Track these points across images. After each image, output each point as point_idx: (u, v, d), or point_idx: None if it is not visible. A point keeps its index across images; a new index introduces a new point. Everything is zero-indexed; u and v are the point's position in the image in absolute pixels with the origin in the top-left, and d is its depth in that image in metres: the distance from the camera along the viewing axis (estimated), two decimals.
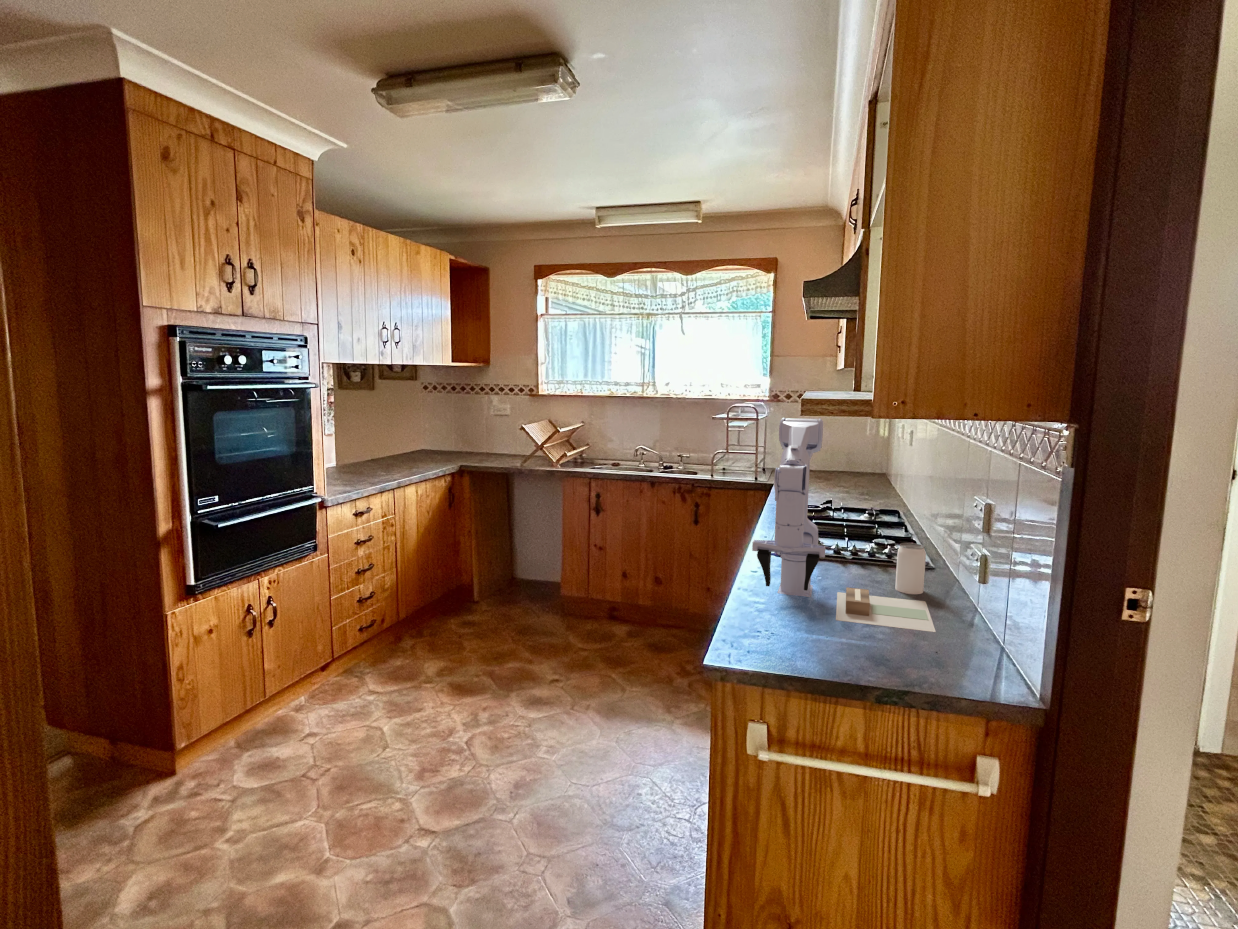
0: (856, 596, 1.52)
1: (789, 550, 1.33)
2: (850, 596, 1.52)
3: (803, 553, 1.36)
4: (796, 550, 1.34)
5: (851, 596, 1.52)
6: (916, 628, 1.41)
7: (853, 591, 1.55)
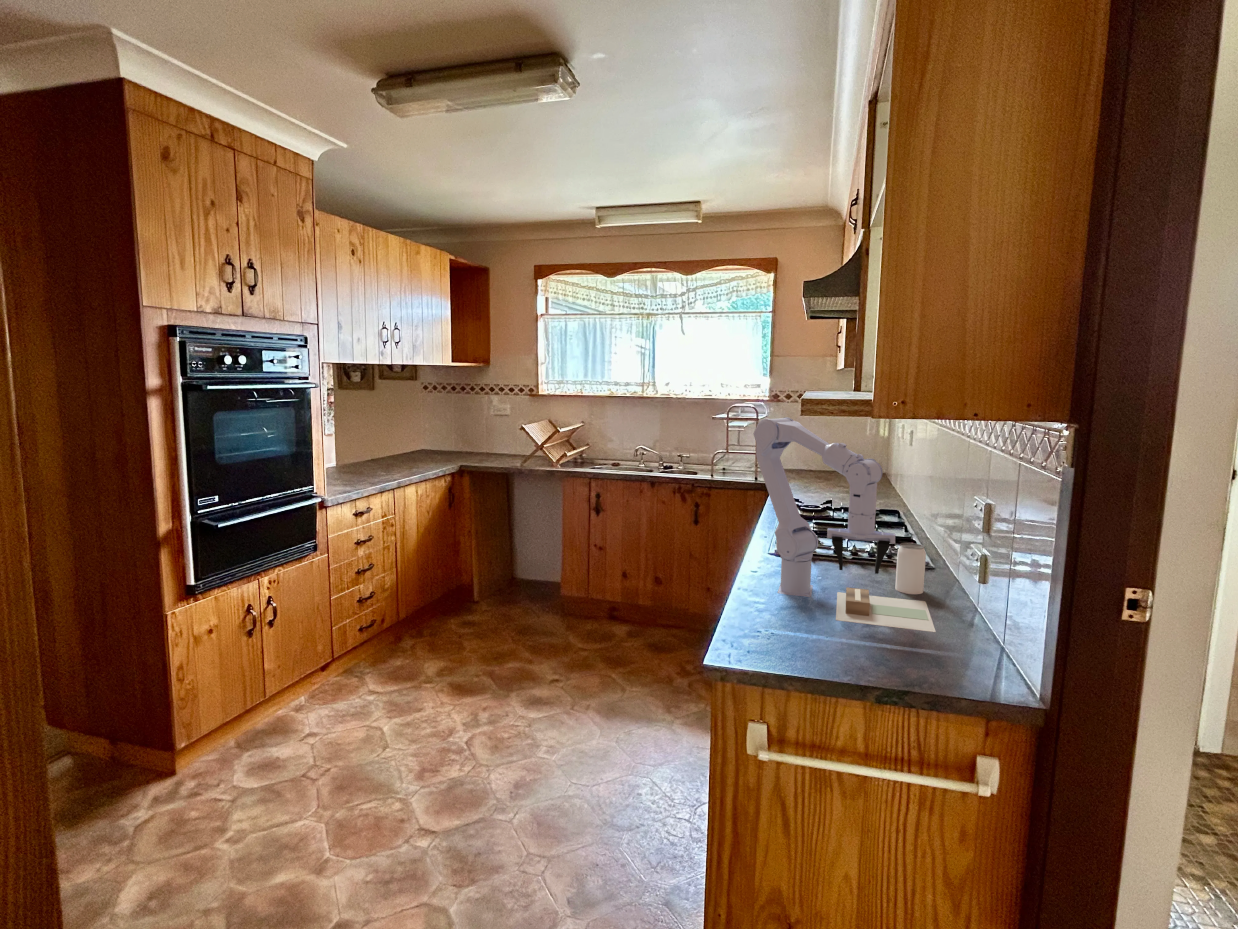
0: (856, 596, 1.52)
1: (863, 537, 1.47)
2: (850, 596, 1.52)
3: (874, 540, 1.50)
4: (869, 537, 1.48)
5: (851, 596, 1.52)
6: (916, 628, 1.41)
7: (853, 591, 1.55)
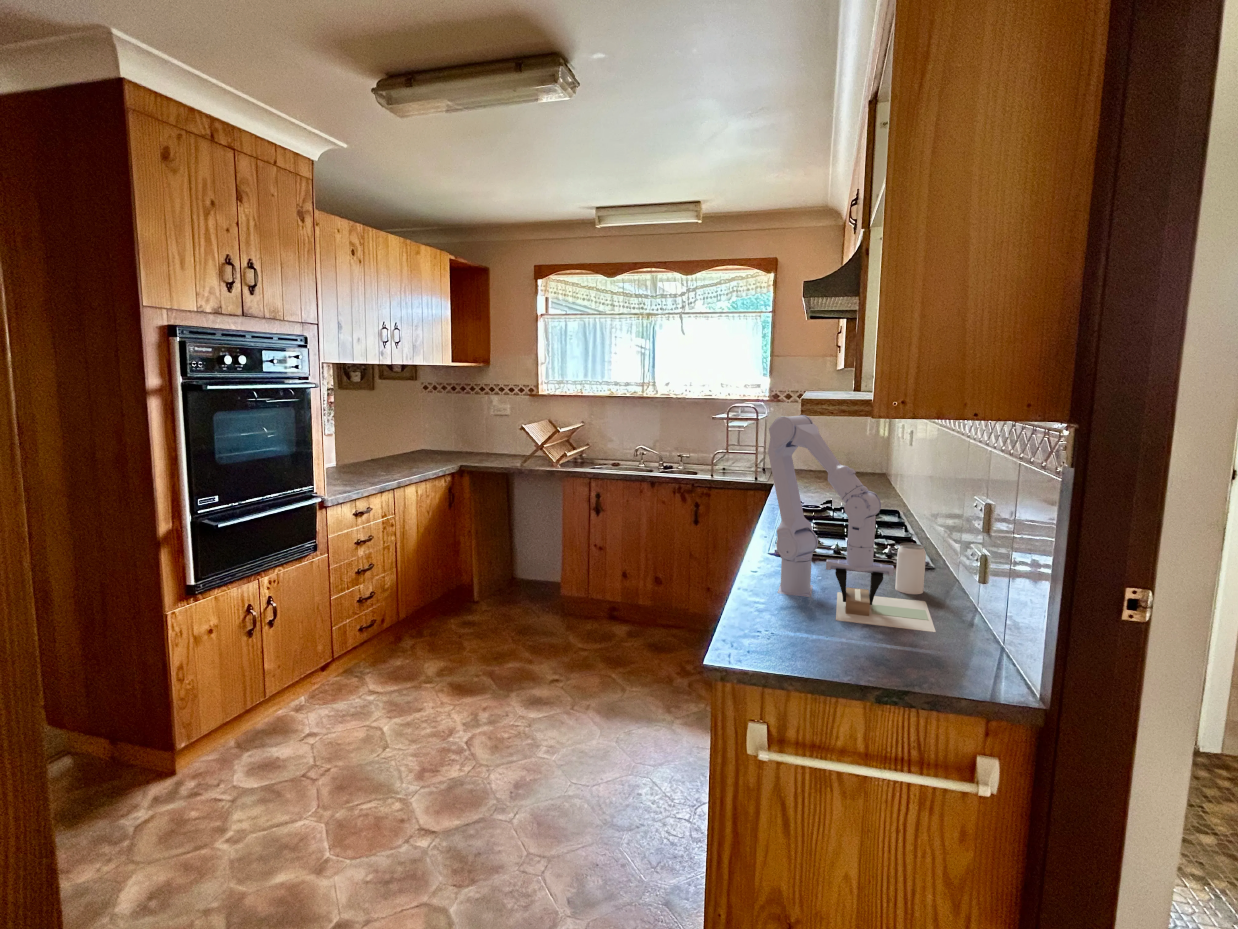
0: (856, 596, 1.52)
1: (862, 569, 1.48)
2: (850, 596, 1.52)
3: (873, 572, 1.51)
4: (868, 569, 1.49)
5: (851, 596, 1.52)
6: (916, 628, 1.41)
7: (853, 591, 1.55)
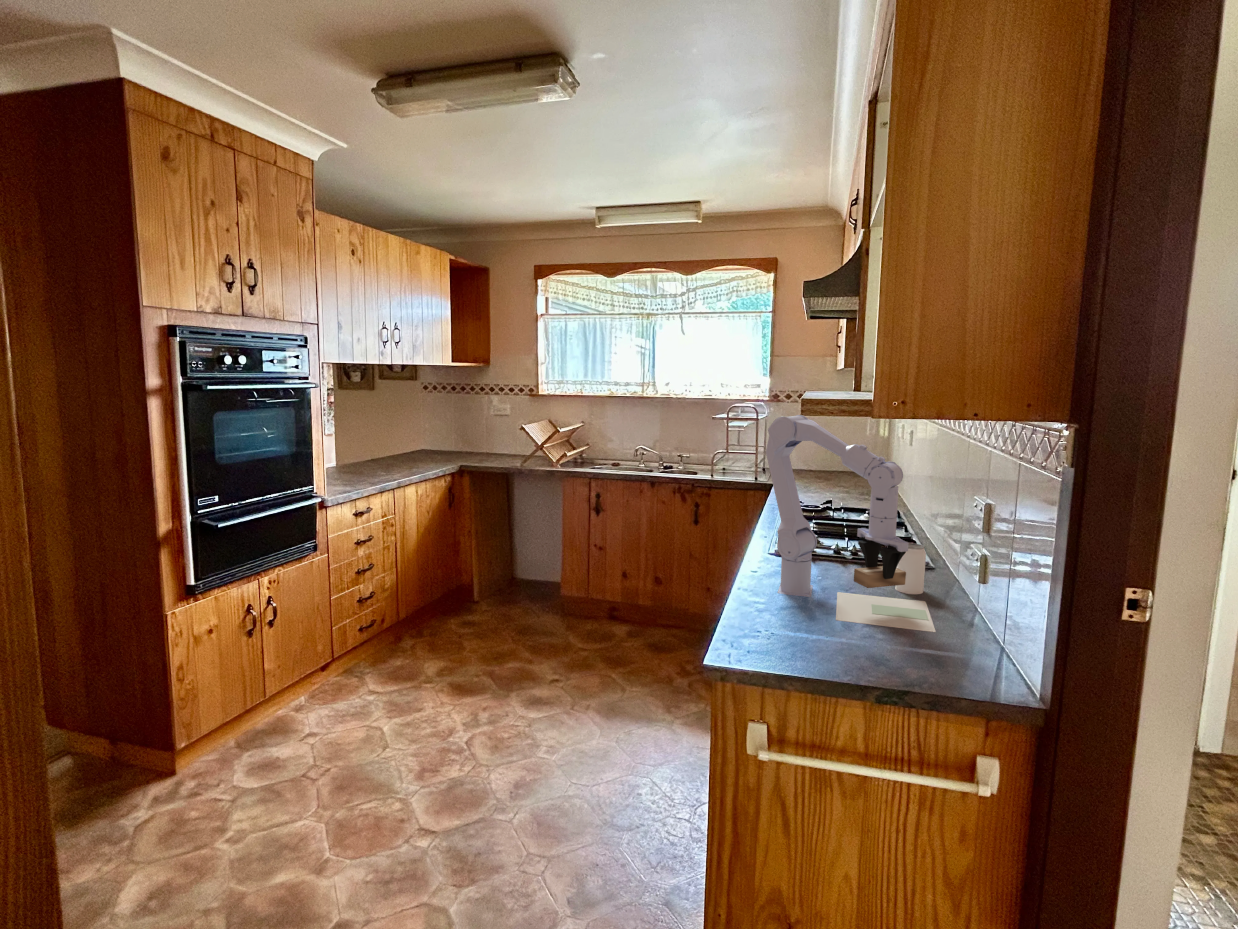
0: (873, 569, 1.51)
1: (868, 538, 1.48)
2: (868, 568, 1.52)
3: (889, 545, 1.47)
4: (877, 540, 1.47)
5: (870, 568, 1.52)
6: (916, 628, 1.41)
7: None
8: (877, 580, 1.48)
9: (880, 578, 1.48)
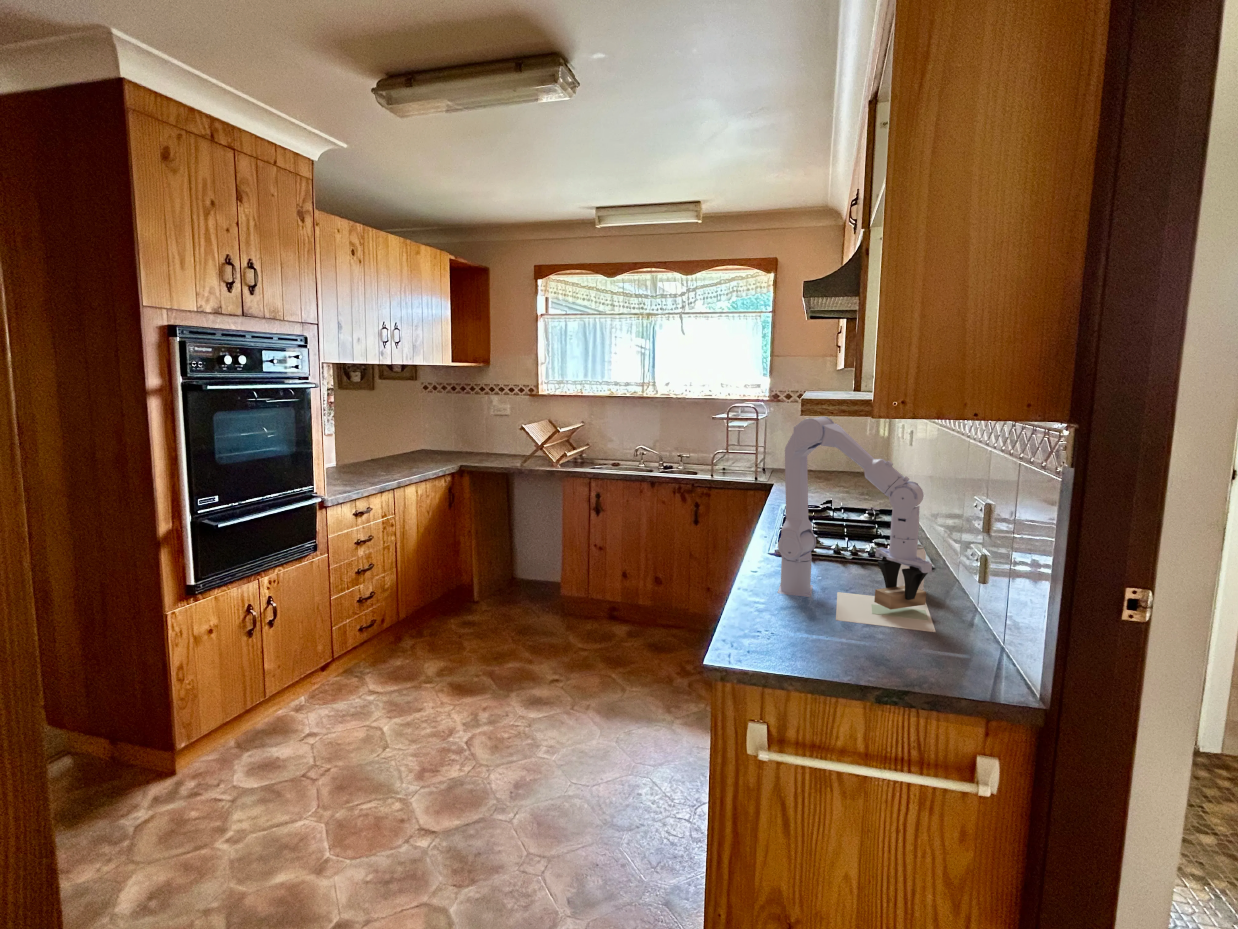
0: (894, 590, 1.50)
1: (890, 559, 1.47)
2: (888, 589, 1.51)
3: (911, 566, 1.46)
4: (900, 561, 1.46)
5: (890, 589, 1.51)
6: (916, 628, 1.41)
7: None
8: (899, 601, 1.47)
9: (902, 599, 1.47)
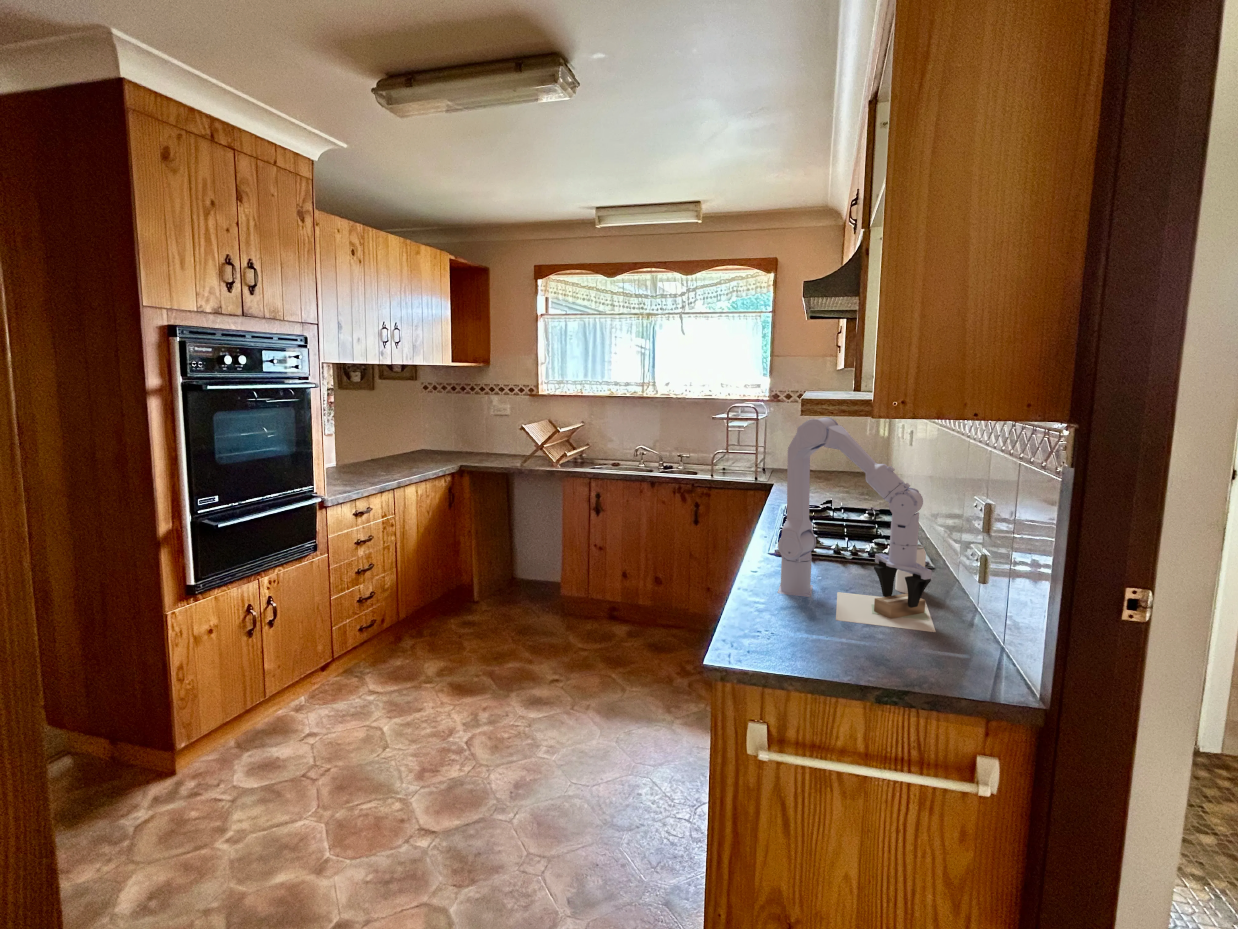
0: (894, 599, 1.50)
1: (890, 565, 1.47)
2: (887, 598, 1.51)
3: (911, 572, 1.46)
4: (899, 567, 1.46)
5: (889, 598, 1.51)
6: (916, 628, 1.41)
7: (904, 596, 1.52)
8: (899, 609, 1.47)
9: (901, 608, 1.47)
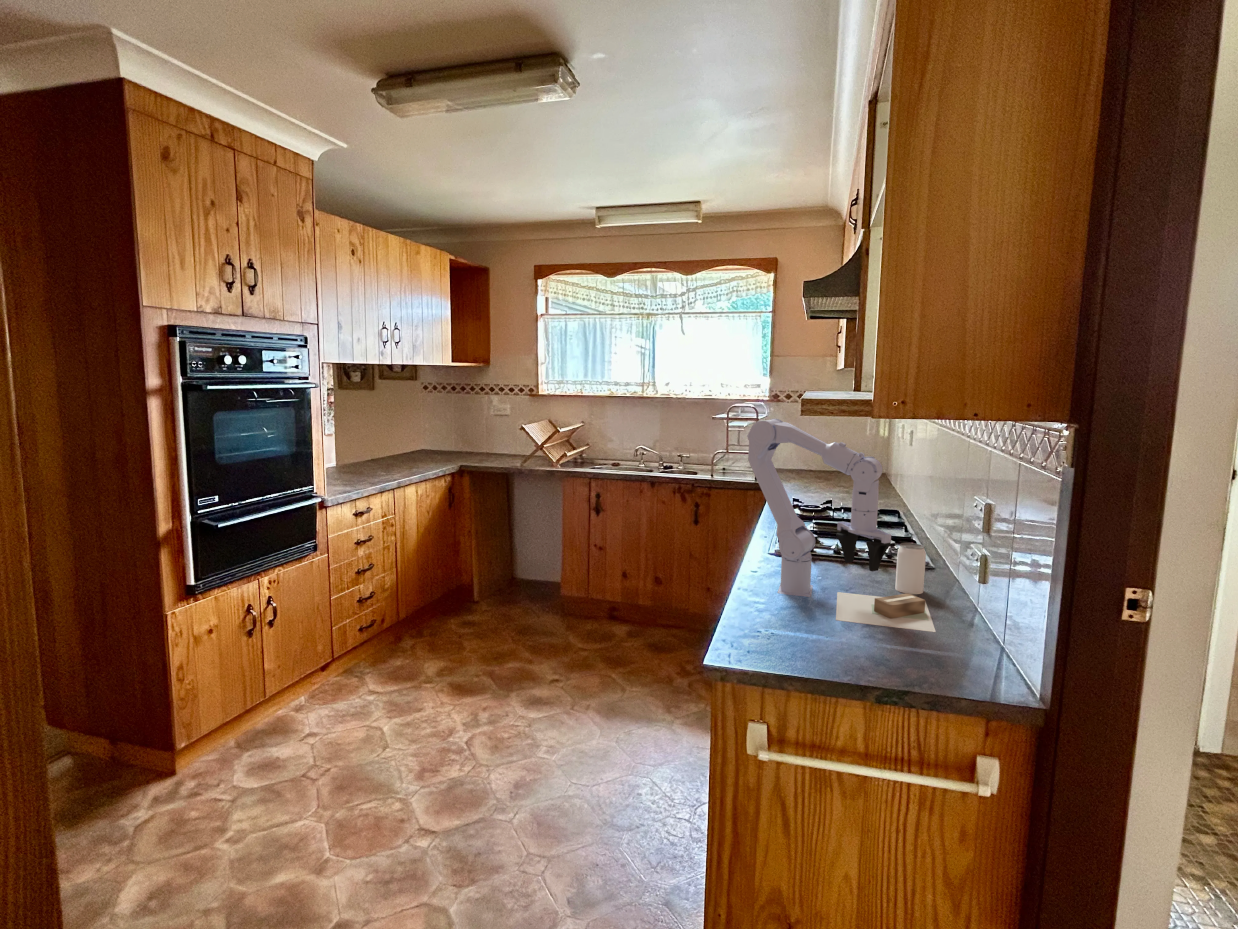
0: (894, 599, 1.50)
1: (852, 531, 1.52)
2: (887, 598, 1.51)
3: (872, 537, 1.52)
4: (860, 533, 1.52)
5: (889, 598, 1.51)
6: (916, 628, 1.41)
7: (904, 596, 1.52)
8: (899, 609, 1.47)
9: (901, 608, 1.47)
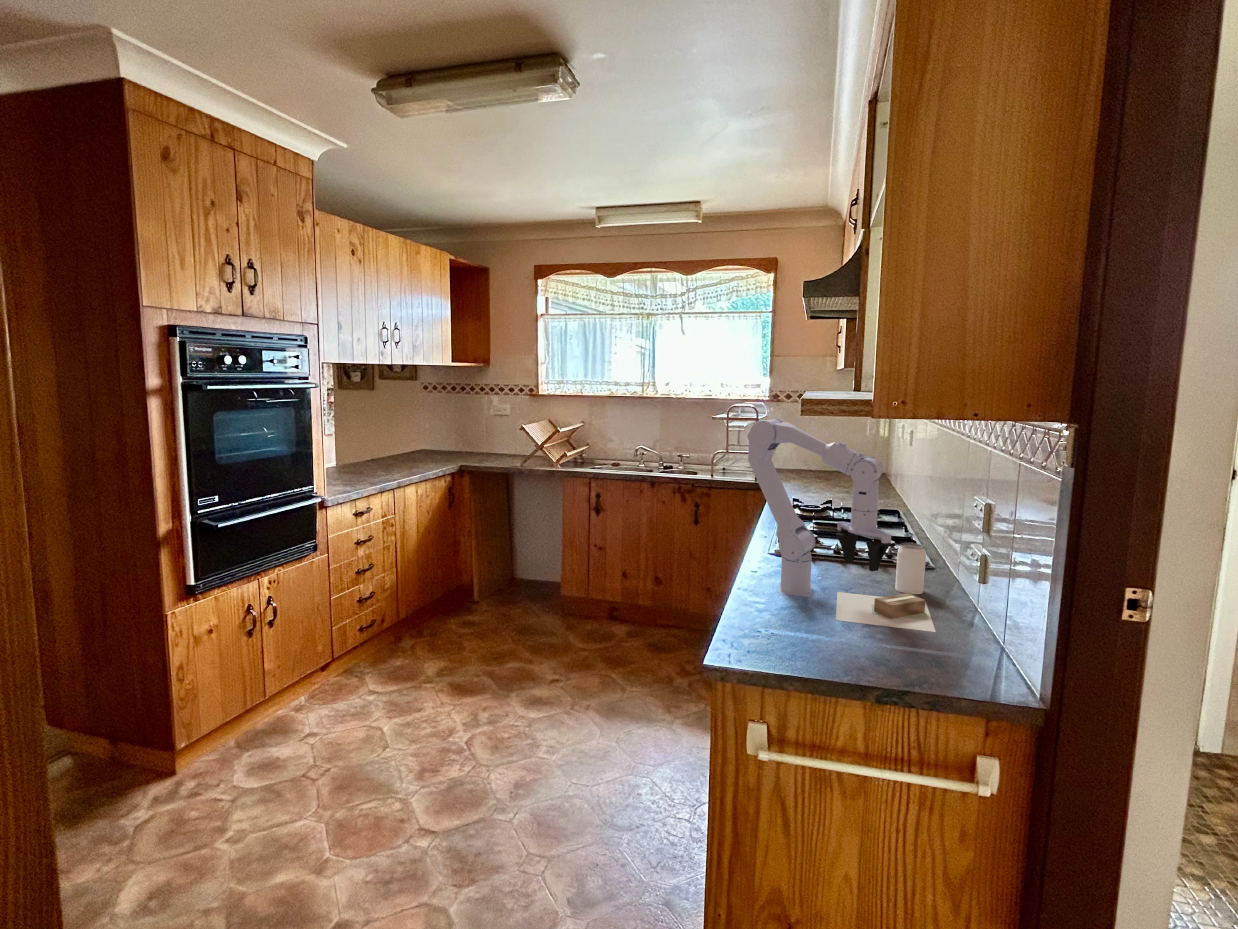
0: (894, 599, 1.50)
1: (852, 531, 1.52)
2: (887, 598, 1.51)
3: (872, 537, 1.52)
4: (860, 533, 1.52)
5: (889, 598, 1.51)
6: (916, 628, 1.41)
7: (904, 596, 1.52)
8: (899, 609, 1.47)
9: (901, 608, 1.47)
